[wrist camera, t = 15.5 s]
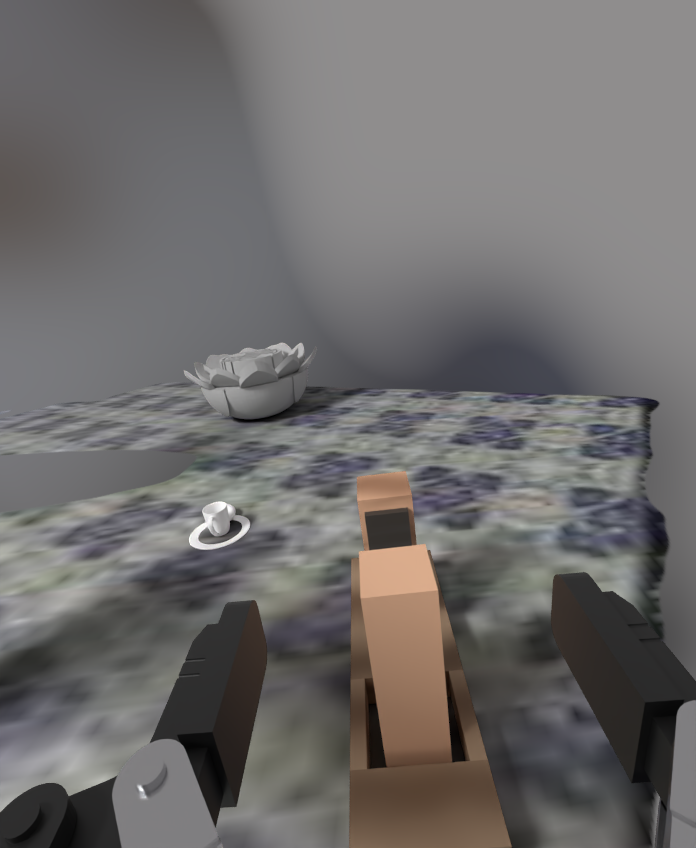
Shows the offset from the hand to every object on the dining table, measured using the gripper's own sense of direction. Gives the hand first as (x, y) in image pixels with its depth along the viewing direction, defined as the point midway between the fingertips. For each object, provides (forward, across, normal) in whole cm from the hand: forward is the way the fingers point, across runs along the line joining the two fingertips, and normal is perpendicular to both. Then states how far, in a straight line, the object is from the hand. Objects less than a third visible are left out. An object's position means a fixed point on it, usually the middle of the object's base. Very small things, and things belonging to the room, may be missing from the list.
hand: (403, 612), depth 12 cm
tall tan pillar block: (+10, 0, +21) cm, 24 cm away
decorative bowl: (+94, +27, +23) cm, 100 cm away
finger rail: (+16, 0, +21) cm, 26 cm away
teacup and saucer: (+42, +19, +23) cm, 51 cm away
